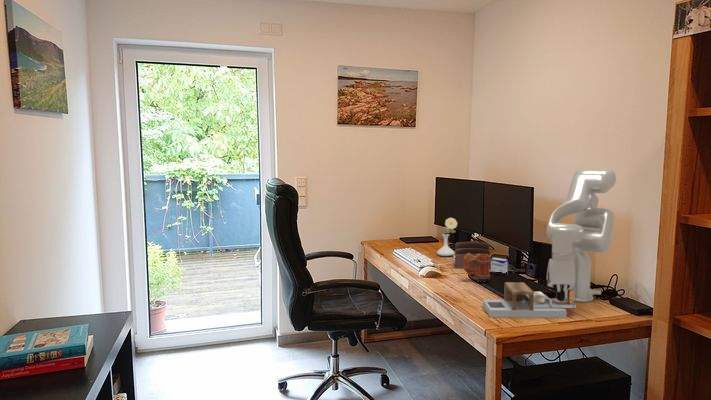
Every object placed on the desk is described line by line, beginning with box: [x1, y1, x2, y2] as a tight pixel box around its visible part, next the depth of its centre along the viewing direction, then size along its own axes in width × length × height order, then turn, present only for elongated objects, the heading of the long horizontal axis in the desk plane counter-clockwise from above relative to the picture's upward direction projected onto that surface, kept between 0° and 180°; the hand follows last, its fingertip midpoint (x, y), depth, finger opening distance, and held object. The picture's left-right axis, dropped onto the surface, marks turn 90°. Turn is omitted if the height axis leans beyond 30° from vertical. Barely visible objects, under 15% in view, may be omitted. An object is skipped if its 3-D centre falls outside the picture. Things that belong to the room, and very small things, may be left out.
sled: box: [524, 289, 577, 309], centre depth 184 cm, size 18×8×6 cm, turn 86°
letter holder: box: [454, 241, 492, 270], centre depth 260 cm, size 10×20×14 cm, turn 78°
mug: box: [462, 253, 492, 280], centre depth 229 cm, size 15×8×15 cm, turn 92°
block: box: [528, 291, 546, 304], centre depth 185 cm, size 5×5×5 cm
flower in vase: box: [436, 217, 458, 257], centre depth 289 cm, size 13×11×25 cm
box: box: [490, 257, 509, 273], centre depth 244 cm, size 8×4×9 cm, turn 51°
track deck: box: [482, 299, 567, 319], centre depth 186 cm, size 30×13×3 cm, turn 86°
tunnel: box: [503, 281, 535, 310], centre depth 185 cm, size 8×13×8 cm, turn 176°
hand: (560, 300), depth 184 cm, fingers closed
